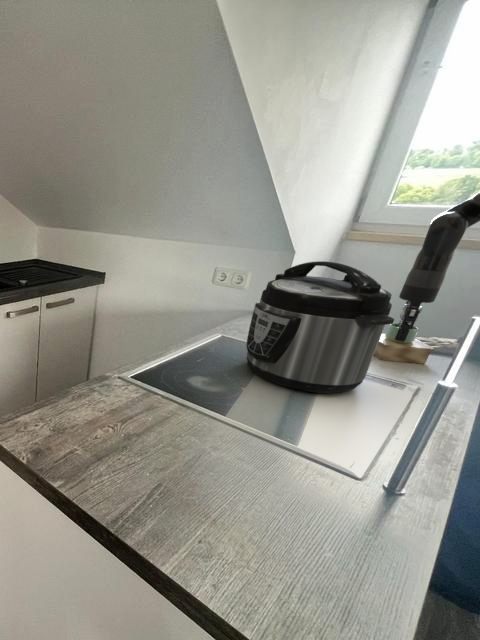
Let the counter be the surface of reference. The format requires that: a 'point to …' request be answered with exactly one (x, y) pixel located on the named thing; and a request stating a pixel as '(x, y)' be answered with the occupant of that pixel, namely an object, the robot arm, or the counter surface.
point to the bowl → (393, 332)
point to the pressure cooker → (317, 328)
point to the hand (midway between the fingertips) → (399, 337)
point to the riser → (403, 350)
